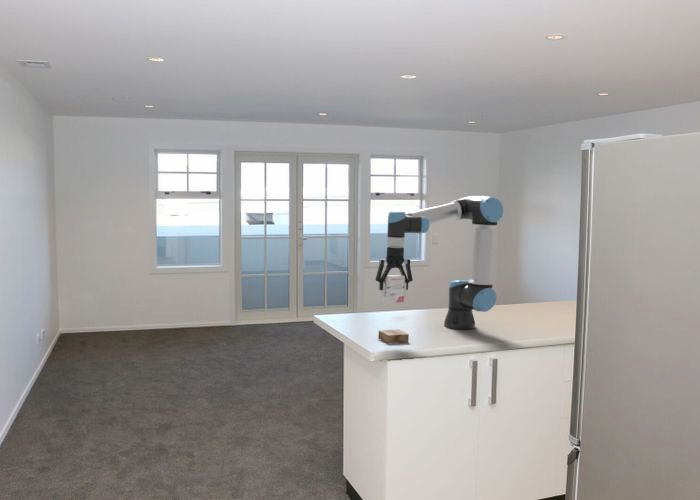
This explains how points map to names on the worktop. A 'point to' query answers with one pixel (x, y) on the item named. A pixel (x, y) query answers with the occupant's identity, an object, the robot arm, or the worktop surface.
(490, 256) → the robot arm
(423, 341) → the worktop surface
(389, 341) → the walnut block
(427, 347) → the worktop surface
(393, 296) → the ink box
